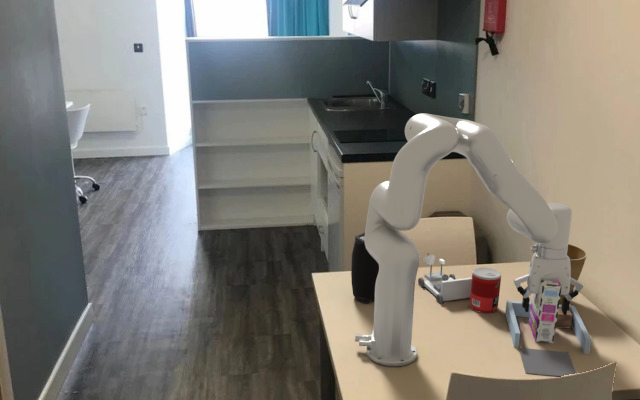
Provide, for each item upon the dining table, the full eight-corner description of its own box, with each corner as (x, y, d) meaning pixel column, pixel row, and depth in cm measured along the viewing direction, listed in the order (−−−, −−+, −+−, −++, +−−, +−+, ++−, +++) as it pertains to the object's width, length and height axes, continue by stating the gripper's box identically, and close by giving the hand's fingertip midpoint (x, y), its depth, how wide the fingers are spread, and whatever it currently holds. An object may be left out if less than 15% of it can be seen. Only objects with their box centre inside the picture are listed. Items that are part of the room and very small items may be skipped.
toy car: (415, 252, 204) (449, 249, 207) (414, 281, 207) (446, 277, 210) (442, 275, 187) (478, 270, 191) (440, 306, 190) (475, 301, 194)
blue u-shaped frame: (513, 347, 167) (515, 332, 166) (505, 313, 185) (506, 300, 184) (589, 353, 164) (591, 339, 163) (572, 318, 183) (574, 305, 181)
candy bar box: (555, 344, 169) (562, 286, 164) (535, 342, 169) (542, 284, 165) (546, 324, 179) (553, 268, 175) (528, 322, 180) (534, 267, 175)
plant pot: (551, 314, 185) (558, 262, 180) (516, 294, 198) (522, 244, 193) (591, 306, 191) (598, 255, 186) (554, 286, 204) (560, 238, 199)
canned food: (498, 314, 184) (502, 279, 181) (469, 312, 186) (472, 276, 183) (497, 303, 192) (500, 268, 188) (469, 300, 193) (472, 266, 190)
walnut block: (555, 327, 178) (557, 314, 177) (551, 320, 182) (553, 307, 180) (570, 328, 177) (572, 315, 176) (566, 321, 181) (568, 308, 180)
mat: (525, 373, 155) (525, 372, 155) (519, 348, 166) (519, 347, 166) (578, 378, 153) (578, 377, 153) (568, 352, 165) (568, 351, 165)
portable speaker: (386, 302, 191) (389, 240, 185) (355, 306, 189) (357, 242, 183) (376, 290, 199) (378, 230, 193) (347, 293, 197) (348, 232, 191)
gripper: (518, 254, 165) (512, 315, 170) (590, 258, 163) (582, 320, 168) (515, 243, 172) (509, 302, 177) (583, 247, 170) (576, 307, 175)
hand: (544, 311), depth 173 cm, fingers open, 9 cm apart
